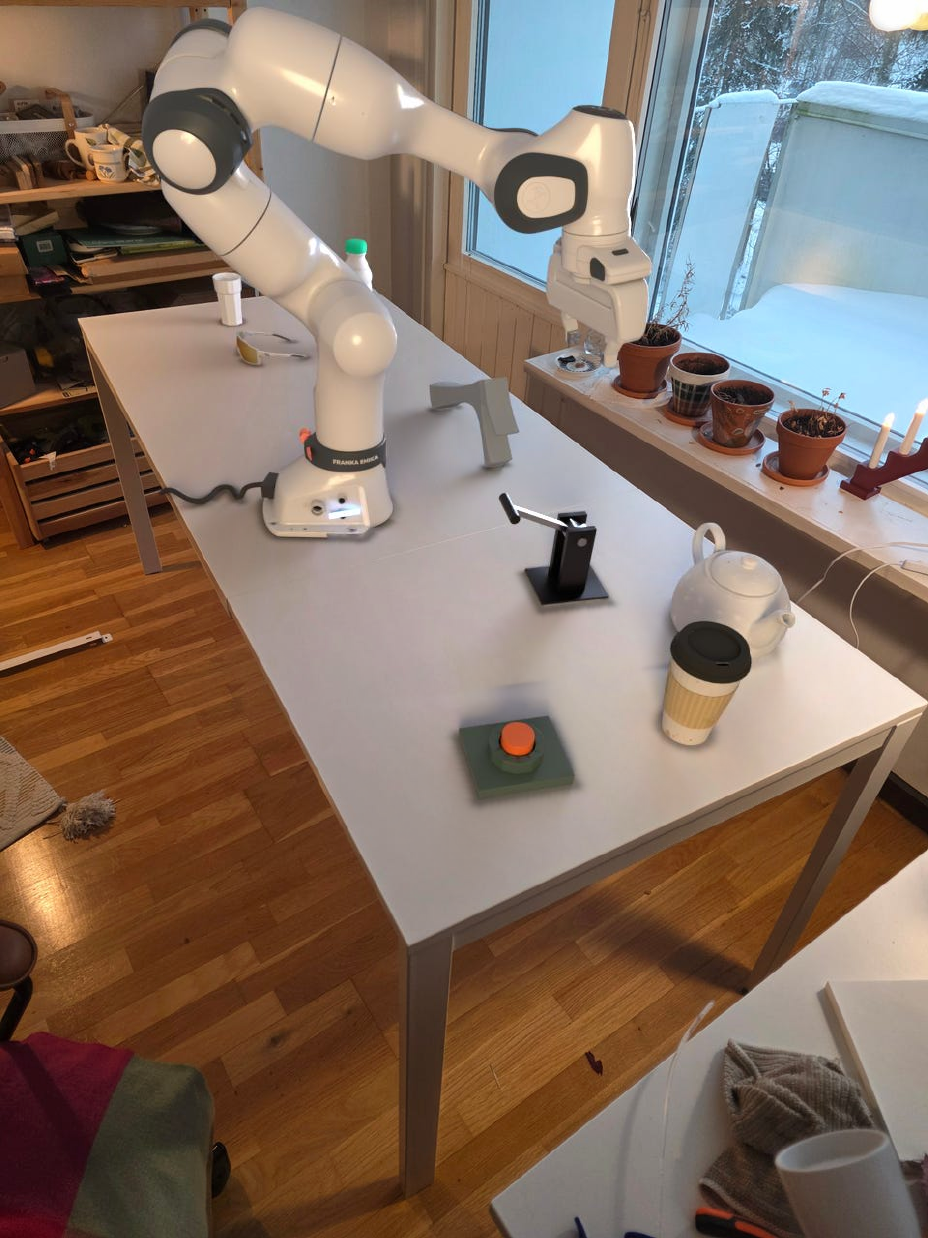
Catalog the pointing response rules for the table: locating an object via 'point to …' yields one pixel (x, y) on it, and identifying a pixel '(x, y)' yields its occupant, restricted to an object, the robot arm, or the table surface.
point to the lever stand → (568, 566)
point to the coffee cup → (702, 679)
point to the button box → (514, 760)
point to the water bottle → (358, 259)
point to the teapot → (733, 594)
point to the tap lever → (534, 516)
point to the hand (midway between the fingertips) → (590, 353)
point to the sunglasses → (253, 354)
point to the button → (517, 739)
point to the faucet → (483, 412)
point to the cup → (229, 297)
